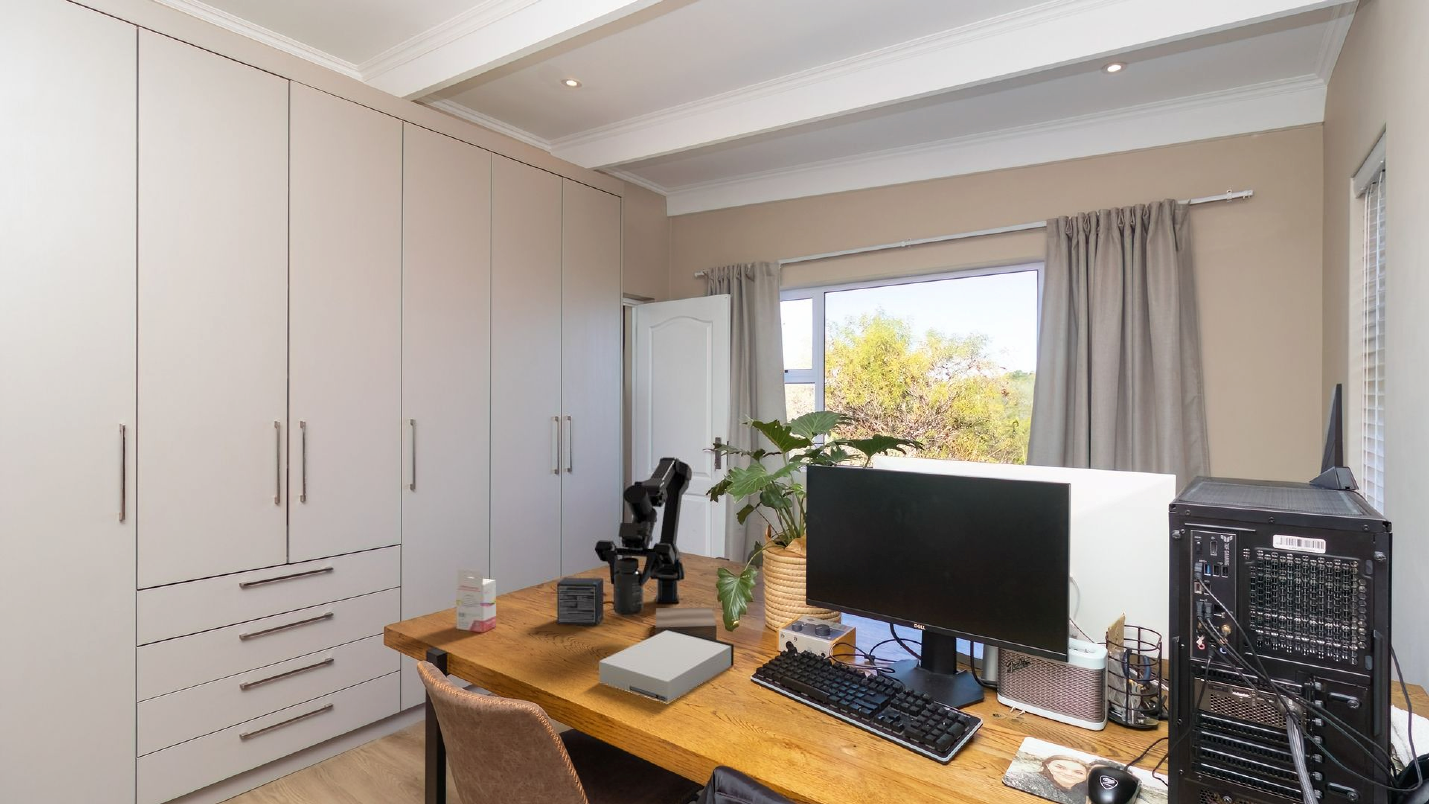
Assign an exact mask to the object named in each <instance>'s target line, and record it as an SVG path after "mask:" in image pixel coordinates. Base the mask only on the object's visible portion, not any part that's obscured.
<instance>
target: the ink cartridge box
mask: <svg viewBox="0 0 1429 804" xmlns="http://www.w3.org/2000/svg"><path fill="white" fill-rule="evenodd" d="M456 571H457V574H456V575H457V576H456V582H455V583H456V587H455V588H456V590H455V591H456V629H457V630H463V631H469V632H470V631H471V632H476V633H486V632H488V631H490V630H492V629H494V628H497V596H496V595H497V593H496V592H497V589H496V588H497V587H496V586H497V583H496V581H497V580H496V579H488V578H484V572H483V571H480V570H479V571H478V570H473V569H463V568H458V569H457V570H456ZM466 575H467V576H468V575H471V576H468V577H467V576H466ZM472 576H473V577H472Z"/></svg>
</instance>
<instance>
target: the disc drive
mask: <svg viewBox="0 0 1429 804" xmlns="http://www.w3.org/2000/svg"><path fill="white" fill-rule="evenodd" d="M734 647H735V645H734V643H731V642H725V641H722V640H718V639H717V640H714V639H710V638H706V637H702V636H698V635H694V634H690V633H686V632H682V631H678V630H674V629H670V628H667V629H666V631H664V632H662V633H660V634H657V635H656V634H655V635H653V636H651V637H649V638H646V639H645V640H642V641H640V642H637V643H636V644H634V645H631V646H629V647H626V648H625V649H622V650H621V651H619V652H616V653H613V654H611V655H609V656H608V657H606V658H603V659H600V660H599V662H598V666H599V667H598V668H599V669H598V676H599V677H598V681H599V682H601V683H603V684H602V685H604V684H608V685H610V686H613V687H617V688H620V689H623V690H627V691H630V692H632V693H637V694H639V695H642V696H647V697H650V698H652V699H657V700H659V701H662V702H666V703H668V702H671V701H672V700H674V699H676V698H678V697H679V696H681V697H682V695H683V694H684V693H686V694H687V692H688V691H689V692H691V691H693V690H694V689H695V688H694V687H696V688H697V686H698V685H699V684H701V685H702V684H704V683H705V682H708V681H709V680H710V679H713V678H714V677H716V676H717V675H719V674H721V673H722V672H724V671H725V670H727V669H728V668H731V667H733V666H734V664H735V663H734V661H735V660H734V652H735V651H734V650H735V649H734ZM599 682H598V683H599ZM703 682H704V683H703ZM601 683H600V684H601ZM610 686H609V687H610ZM699 686H700V685H699ZM699 686H698V687H699ZM613 687H612V688H613ZM617 688H616V689H617ZM693 688H694V689H693ZM620 689H619V690H620ZM692 689H693V690H692ZM623 690H622V691H623ZM690 690H691V691H690ZM689 692H688V693H689ZM632 693H631V694H632ZM639 695H638V696H639ZM684 695H685V694H684ZM684 695H683V696H684ZM642 696H641V697H642ZM679 698H680V697H679ZM679 698H678V699H679ZM676 700H677V699H676ZM671 703H672V702H671Z"/></svg>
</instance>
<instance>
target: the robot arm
mask: <svg viewBox="0 0 1429 804" xmlns="http://www.w3.org/2000/svg"><path fill="white" fill-rule="evenodd" d="M692 478H693V471H692V468H691V467H690V465H689V464H688V463H686V462H683V461H681V460H680V459H679V458H677V457H672V456H671V457H669V456H668V457H666V456H665V457H660V459H659V464H658V465H657V466H656V468H655V469H654V471H653V473H652V475H651V477H650V478H649V479H646V480H643V481H634V483H633V484H632V485H630V486H629V487H627V488H626V489H625V491H623V494H622V495H623V499H624V502H625V504H626V507H627V508H628V511H629V514H630V515H632V519H631V522H620V523H619V528H618V529H619V531H618V537H619V538H621V543H622V544H623V545H624V546H617V545H616V544H615V542H614V541H613V540H604V539H600V540H598V541H597V542H596V543H595V546H594V551H595V553H596V555H597V557H598V558H599V560H600V561H601V562H605V563H607V564H608V565H609V575H610V576H609V577H610V578H609V579H610V583H611V585H614V574H615V573H616V572H617V571H618V570H619V569H618V560H619V557H620V556H626V557H640V558H642V557H643V558H645V564H644V567H643V569H642V576H641V580H640V586H643V587H644V585H645V584H646V582H648V580H649V579H650V580H656V588H657V589H656V591H657V592H656V595H655V604H679V603H680V595H679V592H678V590H679V589H678V588H679V587H678V584H679V583H678V582H679V581H682V580H683V581H684V580H685V568H684V565H683V561H682V559H681V552H680V550H679V547H678V546H677V539H678V531H679V522H680V515H681V507H682V501H683V500H682V499H683V496H684V494H685V493H686V491H687V490H688V489H689V486H690V482H691V480H692ZM663 505H664V508H663V516H662V524H661V529H660V530H661V532H660V537H659V542H655V543H654V545H653V547H652V548H649V547H650V544H651V542H653V540H654V539H653V538H654V536H653V533H654V532H653V531H654V527H655V525H656V523H657V522H658V518H657V517H658V512H657V510H656V508H662V507H663Z"/></svg>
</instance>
